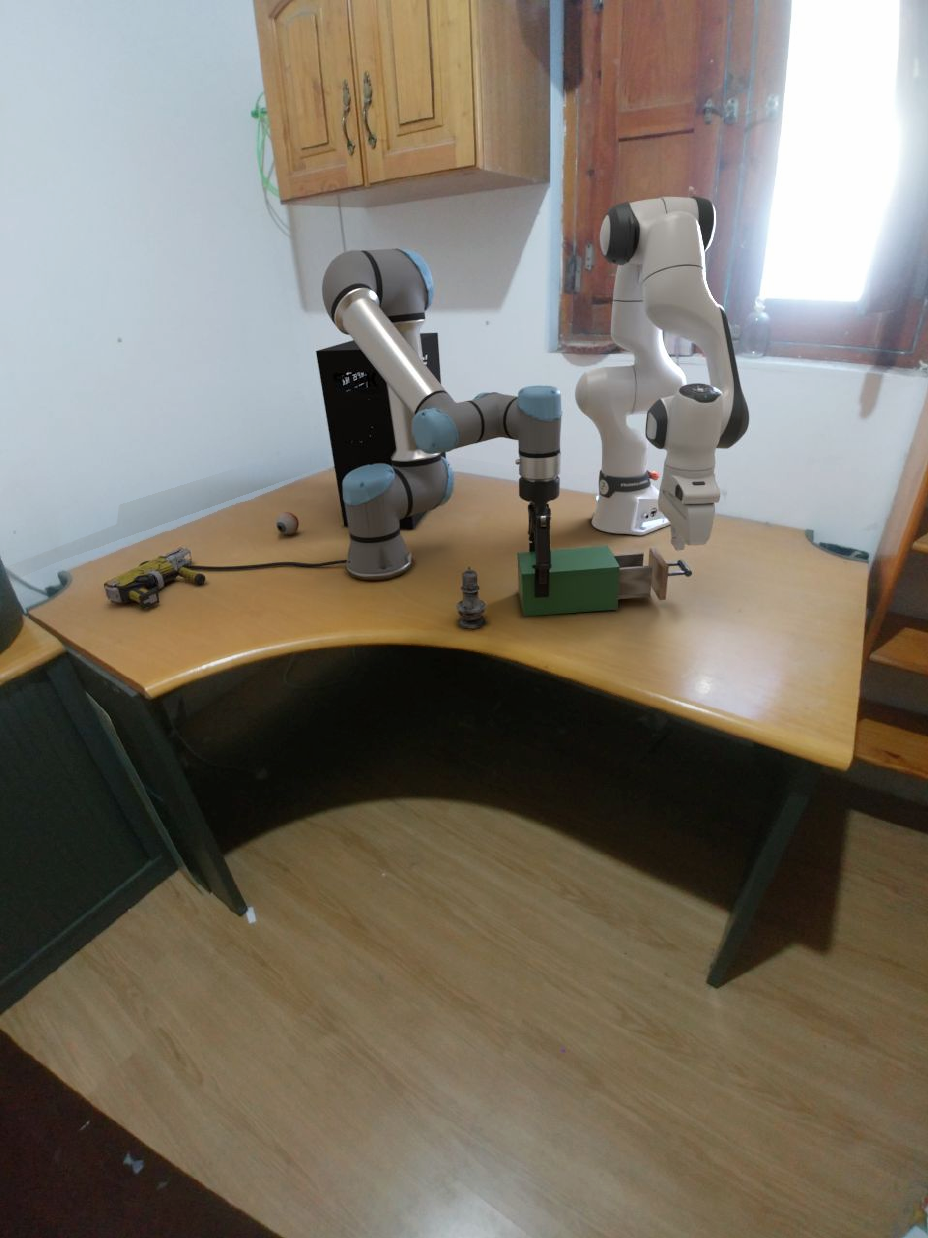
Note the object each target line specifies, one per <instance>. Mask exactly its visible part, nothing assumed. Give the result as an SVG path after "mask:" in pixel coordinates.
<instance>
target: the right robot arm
mask: <svg viewBox="0 0 928 1238" xmlns="http://www.w3.org/2000/svg"><path fill="white" fill-rule="evenodd" d="M716 213H717V212H716V208H715V206H714V203H713V201H712V200H711V199H708V198H706V197H702V196H695V195H693V196H691V197H686V196H685V197H684V196H660V197H658V198H649V199H642V200H636V201H633V202H629V201H624V202H623V201H622V202H620V203H616V204H614V205H612V206H610V207H609V208H608V210H607V211H606V213H605V214H604V217H603V221H602V224H601V226H600V232H599V245H600V248H601V254H602V257H603V258H604V260H605V261H606V262H607V263H609V264H612V265H617V268H616V273H615V278H614V285H613V294H612V305H611V306H612V307H611V322H610V337H611V340H612V341H613V342H614V344H615V345H616V346H618V347H620V348H621V349H623V350H624V351H627V352H629V353H631V354H633V359H634V361H633V363H634V364H631V365H621V366H620V365H619V366H603V367H599V368H595V369H592V370H591V369H590V370H588V371H584V373H582V375H581V376H580V377H579V378H578V380H577V383H576V385H575V390H574V398H575V402H576V405H577V407H578V409H579V410H580V412H581V413H582V414H583V415H585V416H586V417H588V418H589V419H590V420H591V421H592V422H593V424H594V426H595V427H596V429H597V431H598V434H599V436H600V437H599V438H600V443H601V468H600V470H599V474H598V492H599V493H598V495H596V501H597V502H596V507H595V511H594V514H593V517H592V520H591V525H592V526H593V527H594V528H595V529H597V530H599V531H601V532H605V533H611V534H623V535H625V534H626V535H632V536H633V535H634V536H645V535H646V534H650V533H652V532H654V531H657V530H660V529H662V528H665V527H668V526H669V527H670V535H671V536H670V544H671V546H672V547H673V548H674V550H675V551H684V550H685V547H686V545H687V546H691V547H692V546H704V545H706V544H707V543H708V542H709V540H710V537H711V534H712V531H713V527H714V526H713V525H714V521H715V516H716V505H715V504H716V503H719V502H720V501H721V490H720V488H719V486H718V482H717V480H716V474H715V469H716V456H715V455H716V450H717V449H720V450H721V449H722V450H723V449H724V450H728V449H730V448H731V447H733V446H734V445H735V444H736V443H738V442H739V441H740V440H741V439H742V438H743V437H744V435H745V434H746V433H747V431H748V429H749V424H750V410H749V406H748V404H747V403H748V402H747V400H746V398H745V395H744V392H743V389H742V385H741V379H740V375H739V370H738V364H737V357H736V353H735V348H734V342H733V337H732V332H731V328H730V323H729V320H728V316H727V313H726V310H725V309H724V306H723V305H721V304H719V303H718V302H716V301H715V299H714V298H713V295H712V294H711V291H710V289H709V287H708V283H707V279H706V278H707V277H706V261H705V260H706V259H705V253H706V251H707V250H709V247H710V246H711V245H712V242H713V239H714V236H715V231H716V226H717V214H716ZM663 332H665V333H667V334H669V335H673V336H677V337H679V338H682V339H684V340H687V341H689V342H691V343H692V344H694V345H695V346H697V347H698V348H699V350H701V351H702V353H703V355H704V357H705V358H704V359H705V362H706V367H707V372H708V376H709V382H710V384H706V383H697V382H696V383H695V382H694V383H688V384H687V378H686V375H685V373H684V371H683V370H682V369H681V368H680V367H679V366H678V365H677V364H676V363H675V362H674V360H672V358H671V357H670V356H669V354H668V352H667V350H666V347H665V343H664V338H663V336H664V335H663ZM634 415H646V420H645V421H646V422H645V431H644V432H645V434H644V433H643V432H641V431H639V430H638V429H636V428H633V427H631V426H629V425H627V417H629V416H634ZM650 444H651V445H652V446H653V447H655V448H656V449H658V450H665V451H666V456H665V459H664V463H663V469H662V476H661V477H662V478H661V481H660V485H659V489H658V488H656V487H655V486H654V485H652V483H651V480H653V481H658V479H659V478H660V473H659V472H657V471H654V470H651V471H649V470H648V469H647V466H648V458H649V457H648V456H649V446H650Z"/></svg>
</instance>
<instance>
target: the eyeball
mask: <svg viewBox="0 0 928 1238" xmlns="http://www.w3.org/2000/svg"><path fill="white" fill-rule="evenodd" d="M299 525H300V522H299V519H298V517H297V516H296V515H295V514H294V513H292V512H287V511H286V512H282V513H280V514H279V515H278V516H277V517H276V520H275V527H276V529H277V530H278V531H279V532H280V533H281V534H282V535H285V536H286V535H287V536H289V535H293V534H295V533H296V532H297V531H298V529H299Z"/></svg>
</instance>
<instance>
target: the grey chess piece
mask: <svg viewBox="0 0 928 1238" xmlns="http://www.w3.org/2000/svg"><path fill="white" fill-rule="evenodd" d="M461 583H462V586H461V587H460V590H461V592H462V600H459V602H457V603H456V604H455V608H456V610H457V612H458V614H459V616H460V618H459V619H458V624H459V626H460V627H462V628H464V629H478V628H480V627H482V626H484V625H485V623H486V618H485V617H484V616H483V615H484V613H485V611H486V610H485V609H486V608H487V603H486V602H485V601H484V600H482V599H480V597H479V596H480V595H479V591H480V589H481V587H480V586H479V585H478V583H479V582H478V573H477V571H475V570H473V569H472V568H471V566H469V565H468V567H467V569H466V570H464V571H463V572H462V574H461Z"/></svg>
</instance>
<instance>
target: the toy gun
mask: <svg viewBox="0 0 928 1238" xmlns="http://www.w3.org/2000/svg"><path fill="white" fill-rule="evenodd" d="M188 555H189V557H190V559H188V558H185V557H186V556H188ZM148 561H149V562H147V563H145V564H143V565H141V566H139V565H138V566H137V567H134V568H132V569H130V570H128V571H126V572H124V573H122V574H119V575H117V576H115V577H113V578H111V579H109V580H107V581H105V582H104V583H103V587H104V590H105V595H106V598H107V600H108V601H110V603H112V604H113V603H114V604H115V605H116V604H118V603H119V604H120V603H121V604H126V603H131V602H137V603H139V604H140V608H141V610H146V609H148V608H150V607H152V606H155V605H157V604H160V597H159V593H158V591H159V590H161V589H163V588H164V587H165V583H168V582H170V581H172V580H175V579H177V577H181V578H183V579H185V580H188V581H190V582H193V583H195V584H196V585H202V584H204V583H205V582H206V576H205V575H204V574H203V573H200V572H197V571H194V570H192V569H191V568H184V567H182V566H183V565H184V564H185V565H189V564H191V563H192V562H193V558H192V553H191V550H190V549H189V548H188V547H187V548H186V547H185V548H184V547H183V546H180V547H178V548H177V549H174V550H172V551H171V552H168V553H166V554H164V555H159V556H158V557H156V558H153V559H151V560H148Z"/></svg>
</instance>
